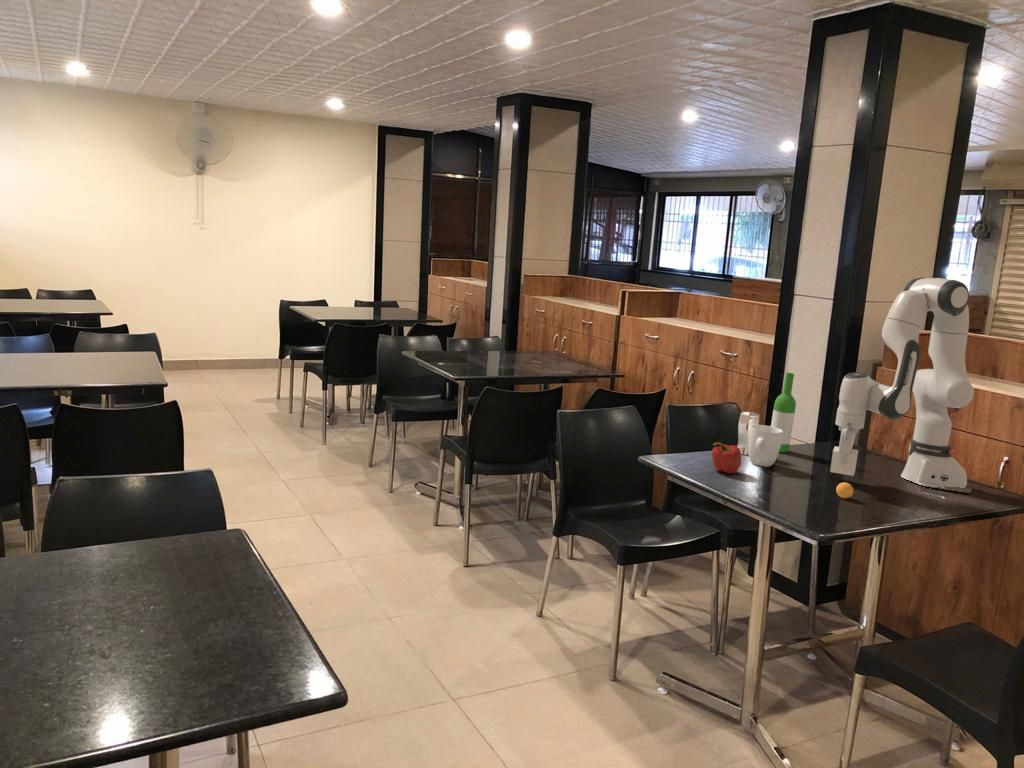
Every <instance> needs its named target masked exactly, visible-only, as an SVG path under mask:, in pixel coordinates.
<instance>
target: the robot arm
mask: <svg viewBox="0 0 1024 768" xmlns="http://www.w3.org/2000/svg"><path fill="white" fill-rule="evenodd" d="M969 299H970V292H969V289H968V286H967V285H966V284H965V283H964V282H961V281H959V280H956V279H947V278H943V277H942V278H941V277H930V278H929V277H917V278H912V279H911V280H910V281H908V283H907V284H906V285H905V287H904V288H903V291H902V292H900V293H898V295H897V296H896V298H895V299H894V301H893V303H892V304H891V307H890V308H889V311H888V314H887V316H886V318H885V320H884V322H883V326H882V329H881V338H882V340H883V343H884V344H885V345H886V346H887V347H888V348H889V349H891V350H892V352H893V353H894V354H895V356H896V358H897V367H896V371H895V375H894V380H893V384H892V385H891V386H889V385H886V384H883V383H880V382H877V380H874V379H872V378H871V377H870V375H869V374H868V373H865V372H856V371H855V372H849V373H847V374H846V375H845V376H844V377H843V379H842V382H841V384H840V389H839V395H838V400H839V401H838V402H839V404H838V406H837V407H838V408H836V409H837V410H836V417H835V425H836V426H838V430H839V431H840V438H839V445H838V447H839V453H841V462H840V463H841V464H843V465H846V462H847V457H848V454H850V453H851V449H853V445H854V442H855V439H856V436H857V434H858V433H860V430H862V429H864V427H865V420H866V414H867V413H866V412H867V411H870V412H872V413H876V414H877V415H881V416H883V417H884V418H887V419H890V420H892V421H893V420H899V419H902V418H903V417H904V416H906V415H908V413H909V412H910V410H911V407H912V401H913V400H912V397H913V396H914V400H915V413H916V415H915V425H914V429H913V430H914V431H913V435H912V436H913V437H912V438H911V440H910V443H909V448H908V458H907V461H906V463H905V466H904V469H903V470H902V473H901V474H900V476H901V477H902V478H904V479H906V480H909V481H912V482H914V483H917V484H919V485H923V486H931V487H941V488H945V487H944V486H946V487H960V488H965V487H966V485H967V483H968V482H967V481H968V477H967V472H966V470H965V468H964V467H963V466H962V465H961V464H960V463H959V462H958V461H957V460H956V459H955V458H954V457H953V456H955V455H956V450H955V449H954V447H952V446H950V445H949V441H950V436H951V431H952V427H953V425H952V420H951V418H950V416H949V414H948V408H953V409H954V408H957V409H960V408H964V407H967V406H968V405H969V404H970V403H971V401H972V400H973V398H974V394H975V392H974V391H975V389H974V386H973V385H972V384H971V383H972V382H970V380H969V378H968V373H967V367H966V348H967V340H968V335H969V327H970V326H969V325H970V309H969V306H968V303H969ZM928 312H932V313H933V316H934V317H933V321H932V326H931V330H930V335H929V336H930V338H929V343H928V350H927V351H928V356H929V358H930V359H931V361H932V367H933V368H922V369H918V367H919V363H920V358H921V346H920V344H919V336H920V332H921V329H922V326H923V324H924V320H925V317H926V314H927V313H928ZM912 395H913V396H912ZM901 477H900V478H901ZM902 478H901V479H902ZM904 479H903V480H904ZM906 480H905V481H906ZM909 481H908V482H909ZM914 483H913V484H914Z"/></svg>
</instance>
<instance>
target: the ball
mask: <svg viewBox="0 0 1024 768" xmlns="http://www.w3.org/2000/svg"><path fill="white" fill-rule="evenodd" d="M835 490H836V491H835V492H836V495H837V496H839V498H842V499H849V498H851V497H852V496H853V494H854V487H853V486H852V484H850V483H848V482H840V483H839V484H838V485H836V489H835Z"/></svg>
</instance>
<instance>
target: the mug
mask: <svg viewBox="0 0 1024 768" xmlns="http://www.w3.org/2000/svg"><path fill="white" fill-rule="evenodd" d="M782 434H783V431H782V430H781V429H778V428H775V427H771V425H763V424H758V425H752V426H751V428H750V434H749V442H748V452H749V455H748V456H749V461H750V462H751V464H752V463H753V464H752V465H754V464H755V466H757V465H759V466H758V467H761V466H764V467H763V468H770V467H772V465H774V464H775V462H776V461H777V458H778V456H779V453H780V452H779V450H780V446H781V440H782ZM769 466H770V467H769Z"/></svg>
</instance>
